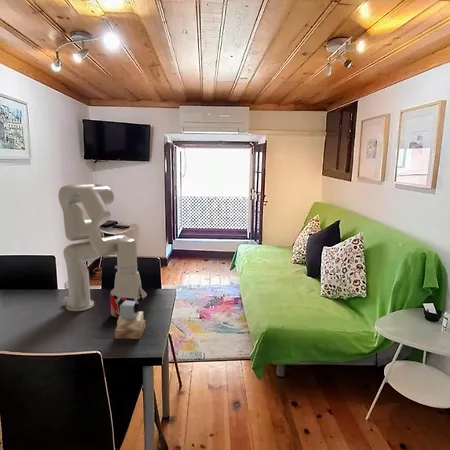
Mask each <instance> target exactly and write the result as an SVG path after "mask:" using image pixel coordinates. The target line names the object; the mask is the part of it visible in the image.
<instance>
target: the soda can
mask: <svg viewBox="0 0 450 450" xmlns="http://www.w3.org/2000/svg"><path fill="white" fill-rule="evenodd" d="M112 290H113V289H111V291H112ZM111 291H110V292H111ZM122 300H124V302H125V301H126V300H127V298H124V297H123V298H122ZM109 301H110V302H109V305H110V315H111V316H112V317H114V318H119V316H120V312H119V308H118V302H117V300H116V299H115V298H114V296H113V295H112V294H111V293H110V294H109Z"/></svg>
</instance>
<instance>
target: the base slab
mask: <svg viewBox="0 0 450 450" xmlns="http://www.w3.org/2000/svg"><path fill="white" fill-rule="evenodd" d="M146 325H147V324H146V319H144V320H143V323H142V326H141V330H126V331H118V330H117V327H115V329H114V338H115V339H117V340H118V339H119V340H121V339H122V340H123V339H124V340H129V339H130V340H133V339H135V340H140V339H141V337H142V336H143V333H144V332H145V329H146V327H147V326H146Z"/></svg>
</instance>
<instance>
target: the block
mask: <svg viewBox="0 0 450 450" xmlns="http://www.w3.org/2000/svg"><path fill="white" fill-rule="evenodd" d="M134 304H135V300H127V299H126V301H125V302H123V303H122V304H121V305H120V318H122V319H134V318H135V317H136V316H137V315H138V314H139V312H140V310H139V311H138V312H137V313H135V308H134Z"/></svg>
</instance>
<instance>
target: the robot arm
mask: <svg viewBox="0 0 450 450" xmlns="http://www.w3.org/2000/svg"><path fill="white" fill-rule="evenodd" d="M58 190H59V191H58V195H57V196H58V202H59V205H60V207H61V211H62V214H63V225H64V234H65V237H66V239H67V240H68V241H70V242H71V241H72V242H73V243H71V244H68V245H67V246H65V248H64V249H63V251H62V252H63V257H64V258H63V259H64V261H65V266H66V273H67V274H66V275H67V285H68V286H67V287H68V296H64V297H63V299H62V302H63V303H66V307H65V309H66V310H67V311H70V312H81V311H88V310H89V309H91V308H93V307H94V306H95V302H94V300H93V299H91V288H90V287H91V286H90V273H89V272H90V271H89V268H88V267H87V266H86V265H85V264H84V263H87V262H90V261H94V260H97V259H99V258H100V257H108V256H113V255H116V257H117V258H116V259H117V261H116V262H117V263H116V264H117V265H115V266H114V269H116V270H117V271H116V272H115V278H114V288H112V289H111V290H112V291H110V292H109V293H110V294H112V295H113V296H114V298H115V299H116V300H117V302H118V308H119V312H120V305H121V304H122V303H123V302H124V300H122V298H123V297H124V298H126V299H133V301H135V304H134V308H135V313H137V312H138V311H139V312H140V310H141V301H143V300H144V298H146V297H147V295H148V294H147V292H146V291H145V290H144V289H143V288H142V280H141V275H140V272H139V271H138V262H137V261H138V257H137V255H138V253H137V241H136V240H135V238H132V237H128V236H126V235H125V234H118V235H111V236H104V237H102V235H101V233H102V232H101V226H102V225H103V224H105V223H106V222H108V221H109V220H110V218H111V216H112V213H111V211H110V209H109V208H108V205H111V204H113V202H114V200H115V195H114V192H113V190H112V189H111V188H110V187H109V186H107V185H102V184H98V183H78V184H77V183H76V184H75V183H74V184H68V185H63V186H61V187H60V189H58ZM81 203H82V206H83V207H84V210H85V211H86V213H87V215H88V217H89V218H84V211H83V209H82V207H81V206H80V205H79V204H81ZM82 240H86V241H82ZM76 241H81V242H76ZM74 242H75V243H74ZM140 295H141V296H140Z"/></svg>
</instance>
